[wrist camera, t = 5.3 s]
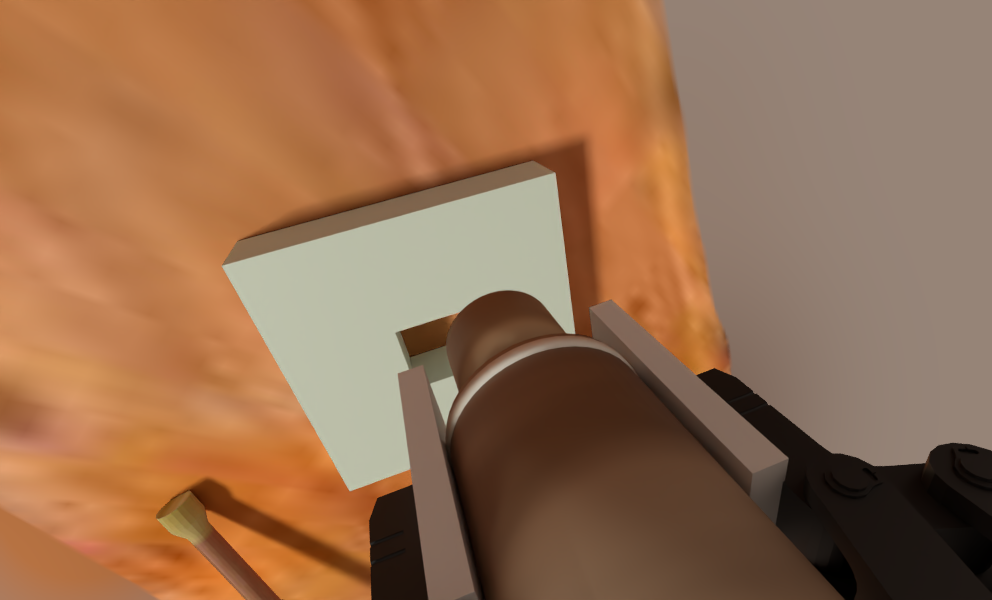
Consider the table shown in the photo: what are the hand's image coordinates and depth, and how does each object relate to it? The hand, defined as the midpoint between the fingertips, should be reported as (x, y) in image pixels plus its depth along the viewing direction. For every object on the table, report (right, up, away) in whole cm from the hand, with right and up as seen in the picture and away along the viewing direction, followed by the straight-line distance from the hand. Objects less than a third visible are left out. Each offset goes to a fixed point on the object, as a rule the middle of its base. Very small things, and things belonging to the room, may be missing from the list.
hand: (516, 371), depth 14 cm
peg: (-1, +1, +2) cm, 2 cm away
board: (-6, +1, +21) cm, 22 cm away
